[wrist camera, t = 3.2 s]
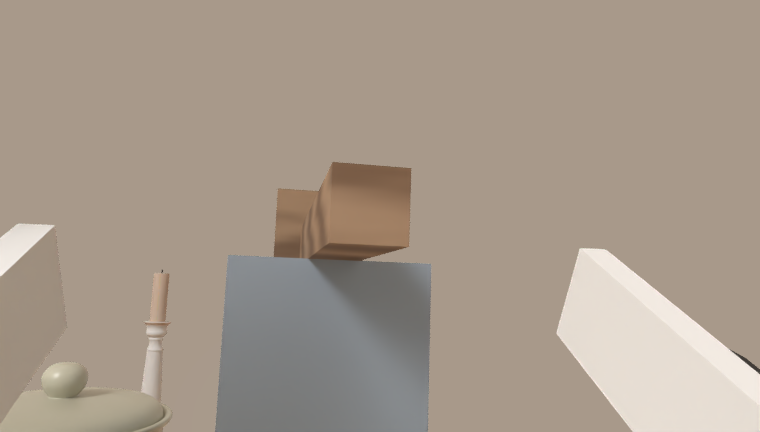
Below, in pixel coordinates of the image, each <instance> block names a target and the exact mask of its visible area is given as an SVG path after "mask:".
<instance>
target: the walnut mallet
mask: <svg viewBox="0 0 760 432" xmlns="http://www.w3.org/2000/svg"><path fill="white" fill-rule="evenodd" d="M410 192H411V168H401V167H388V166H376V165H363V164H350V163H338V162H333V163H332V165H331V167H330V169H329V171H328V173H327V175H326V177H325V179H324V181H323V183H322V185H321V188H320V190H319V191H306V190H292V189H278V198H277V214H276V231H275V246H274V257H282V258H305V259H328V260H351V261H362V260H364V259H367V258H371V257H374V256H378V255H381V254H385V253H389V252H392V251H396V250H399V249H403V248H406V247H409V229H410V227H409V226H410Z"/></svg>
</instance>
